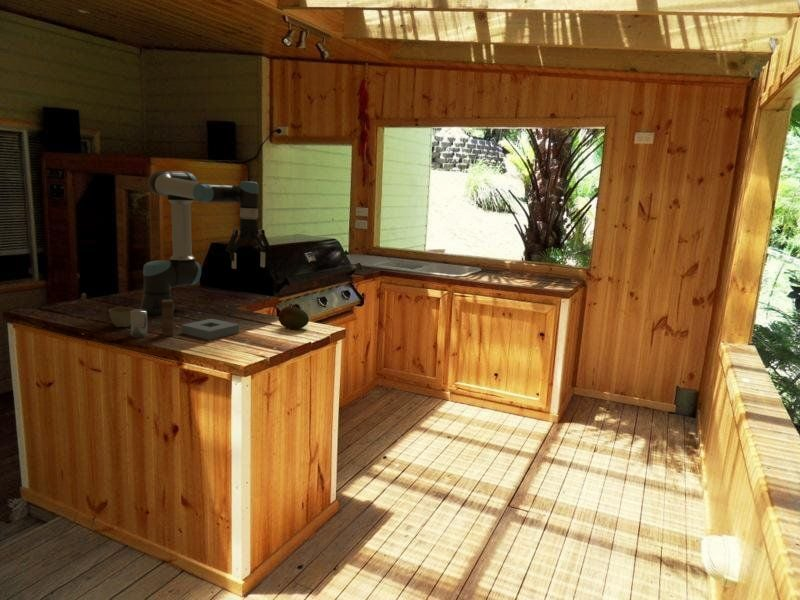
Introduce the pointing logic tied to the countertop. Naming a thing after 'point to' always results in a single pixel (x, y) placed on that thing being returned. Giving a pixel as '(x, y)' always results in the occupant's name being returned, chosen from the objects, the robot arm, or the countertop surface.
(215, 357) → the countertop surface
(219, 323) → the socket plate
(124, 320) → the flower pot
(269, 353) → the countertop surface
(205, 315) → the countertop surface
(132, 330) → the round bit
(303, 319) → the fruit
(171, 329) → the wooden square peg
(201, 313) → the countertop surface
